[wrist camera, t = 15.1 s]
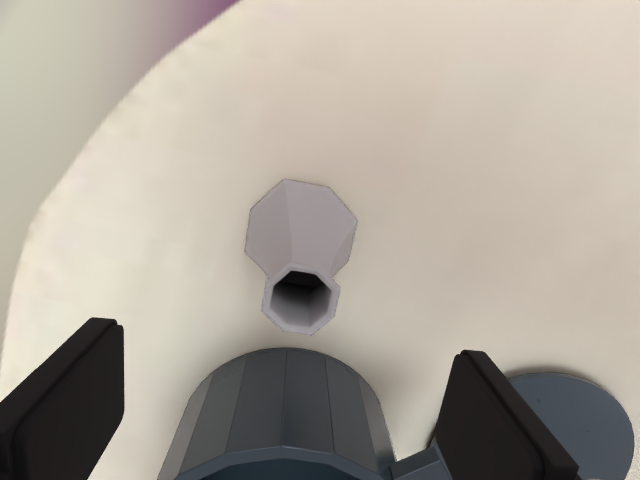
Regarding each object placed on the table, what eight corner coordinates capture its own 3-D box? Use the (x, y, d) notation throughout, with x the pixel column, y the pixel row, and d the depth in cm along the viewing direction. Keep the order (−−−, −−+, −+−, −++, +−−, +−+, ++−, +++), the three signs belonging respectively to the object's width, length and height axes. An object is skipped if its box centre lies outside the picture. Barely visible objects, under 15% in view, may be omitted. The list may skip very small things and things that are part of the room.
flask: (226, 255, 26) (181, 332, 16) (277, 158, 24) (262, 179, 14) (321, 302, 27) (332, 400, 17) (376, 213, 25) (421, 267, 16)
